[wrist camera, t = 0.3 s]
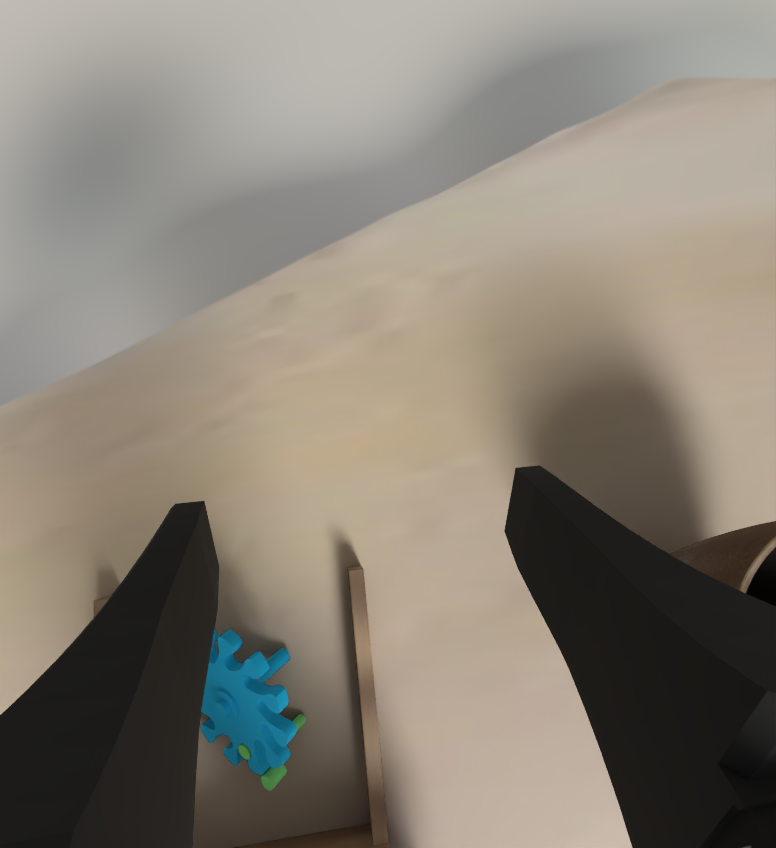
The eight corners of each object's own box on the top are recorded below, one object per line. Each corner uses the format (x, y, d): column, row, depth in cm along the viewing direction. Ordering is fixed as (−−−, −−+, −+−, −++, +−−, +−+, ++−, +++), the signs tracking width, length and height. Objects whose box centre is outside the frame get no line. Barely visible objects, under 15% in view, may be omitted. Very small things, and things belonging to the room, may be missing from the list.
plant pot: (624, 479, 44) (788, 460, 28) (782, 566, 44) (1032, 595, 29) (549, 652, 41) (686, 738, 25) (719, 745, 41) (958, 885, 26)
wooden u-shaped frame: (387, 844, 38) (395, 893, 33) (115, 894, 35) (81, 955, 31) (361, 565, 41) (365, 572, 36) (108, 595, 38) (76, 607, 33)
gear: (148, 642, 37) (237, 631, 31) (217, 598, 41) (304, 581, 36) (212, 790, 37) (311, 806, 31) (272, 729, 42) (368, 733, 36)
